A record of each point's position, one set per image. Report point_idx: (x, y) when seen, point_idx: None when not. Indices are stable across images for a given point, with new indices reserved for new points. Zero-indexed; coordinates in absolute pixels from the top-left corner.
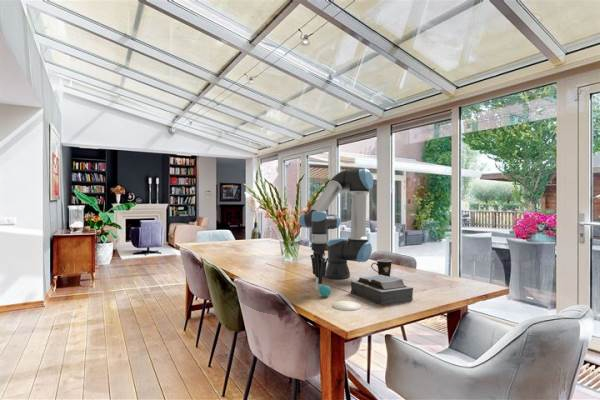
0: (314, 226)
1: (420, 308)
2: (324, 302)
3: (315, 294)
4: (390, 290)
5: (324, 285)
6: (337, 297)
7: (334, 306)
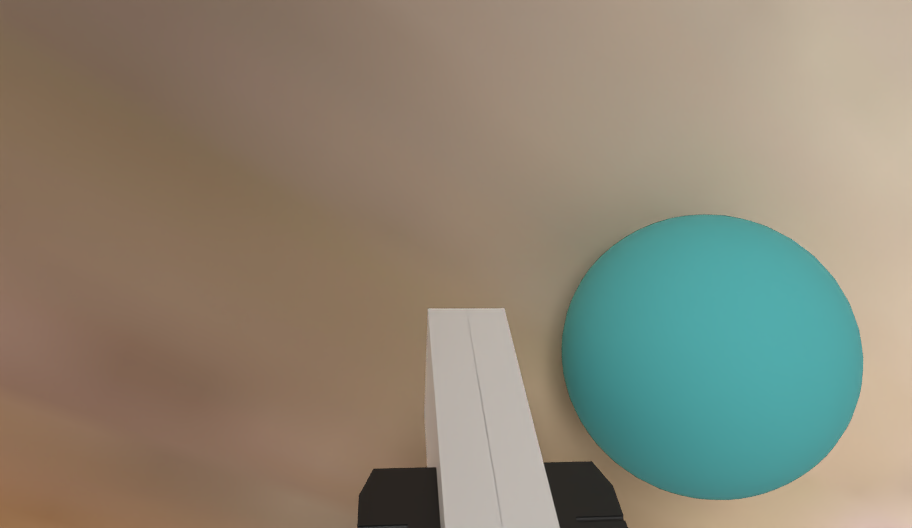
0: None
1: None
2: (882, 438)
3: (420, 353)
4: None
5: (769, 474)
6: (891, 95)
7: None
